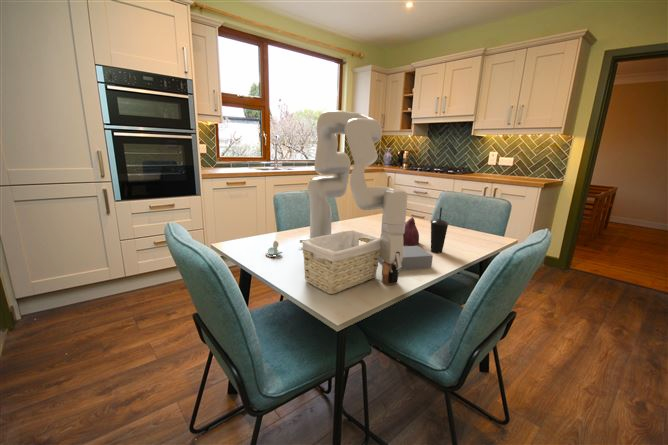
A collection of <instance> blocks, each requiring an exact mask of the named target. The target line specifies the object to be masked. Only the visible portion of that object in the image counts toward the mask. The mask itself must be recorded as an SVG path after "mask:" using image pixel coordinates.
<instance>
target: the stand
mask: <svg viewBox="0 0 668 445" xmlns="http://www.w3.org/2000/svg"><path fill="white" fill-rule="evenodd" d="M382 260H383V259H382V258H381V257H380V256H379V261H378V263H379V264H380V265H381V266H382V265H383V264H382ZM401 265H402V267H401V268H400V269H399V271H403V270H404V271H407V270H420V269H431V268H432V265H433V255H432V254H431V253H430V252H428V251H427V250H425V249H424V248H423V247H420V246H419V245H416V246H406V245H403V259H402V263H401Z"/></svg>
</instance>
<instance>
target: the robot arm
mask: <svg viewBox="0 0 668 445" xmlns="http://www.w3.org/2000/svg"><path fill="white" fill-rule="evenodd" d="M316 133H317V134H316V135H317V139H316V140H317V141H316V142H317V143H316V149H315V157H314V170H315V172H316V173H317V174H319V175H322V176H316V177H313V178H311V179H310V180H309V181H308V184H307V191H308V197H309V212H310V213H309V235H308V237H306V238H299V243H300V244H303V241H305V240H308V239H311V238H315V237H320V236H325V235H330V234H332V217H333V216H332V214H333V213H332V206H331V204H330V202H329V201H328V199H335V198H336V199H337V198H341V197H343V196H344V195H345V194H346V191H347V189H348V184H349V186H350V191H351V193H352V198H353V200H354V202H355V204H356V206H357V207H358V208H359V209H360V210H362V211H371V210H378V209H382V216H381V233H380V237H379V238H380V239H381V249H380V255H379V256H380V257H381V258H382V259H383V260H382V264H383V261H385V262H386V263H387V264H390V271H389V275H388V282H389V283H396V284H398V282H399V272H400V270H399V269H400V268H401V267H402V265H401V263H402V259H403V246H404V245H403V234H404V233H405V223H406V218H407V205H408V193H407V192H406V191H405V190H403V189H402V190H401V189H394V188H392V187H389V186H385V185H383V186H382V185H381V186H368V185H367V182H366V179H365V171H366V168H367V167H369V166H371V165H373V164H374V163H375V162H376V161H377V160H378V158H379V156H378V155H379V154H378V152H377V149H376V146H375V143H378V142H379V141H380V140H381V139H382V137H383V128H382V125H381V123H380V122H379V121H378V120H377V119H375V118H372V117H369V116H367V115H365V114H362V113H359V112H354V111H345V110H334V109H329V110H325V111H323V112H322V113H320V115H319V116H318V119H317V122H316ZM337 135H345V137H346V141H347V144H348V147H349V151H350V153H351V156H352V159H353V162H354V164H353V167H352V169H351V160H350V157H349V155H348V154H347V153H346V152H342V151H338V148H339V147H338V146H339V142H338V138H337ZM350 172H351V173H350ZM323 175H325V176H323ZM329 175H330V176H329ZM331 175H333V176H331ZM349 178H350V179H349ZM393 261H396V262H393ZM395 264H396V266H394V267H393V265H395ZM381 266H382V267H381V273H382V272H383V265H381Z"/></svg>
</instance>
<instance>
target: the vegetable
mask: <svg viewBox="0 0 668 445" xmlns="http://www.w3.org/2000/svg"><path fill="white" fill-rule="evenodd" d="M419 242H420V233H419V231H418V228H417V225H416V222H415V219H414V217H413V216H411V217H410V218H409V219H408V220H407V221H405V233H404V234H403V246H419Z"/></svg>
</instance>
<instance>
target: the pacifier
mask: <svg viewBox="0 0 668 445" xmlns="http://www.w3.org/2000/svg"><path fill="white" fill-rule="evenodd" d="M278 247H279V241H277V240H274V241H273V244H272V247H270V248H268V249H267V252H266V253H265V256H266V255H267V256H269V257H268V258H270V257H275V258H277V257H279V255H280V254H282V253H283V251H279V250H278ZM268 253H269V254H268ZM272 255H276V256H272ZM267 256H266V257H267Z"/></svg>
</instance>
